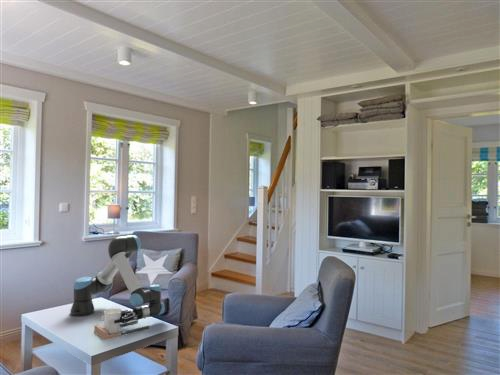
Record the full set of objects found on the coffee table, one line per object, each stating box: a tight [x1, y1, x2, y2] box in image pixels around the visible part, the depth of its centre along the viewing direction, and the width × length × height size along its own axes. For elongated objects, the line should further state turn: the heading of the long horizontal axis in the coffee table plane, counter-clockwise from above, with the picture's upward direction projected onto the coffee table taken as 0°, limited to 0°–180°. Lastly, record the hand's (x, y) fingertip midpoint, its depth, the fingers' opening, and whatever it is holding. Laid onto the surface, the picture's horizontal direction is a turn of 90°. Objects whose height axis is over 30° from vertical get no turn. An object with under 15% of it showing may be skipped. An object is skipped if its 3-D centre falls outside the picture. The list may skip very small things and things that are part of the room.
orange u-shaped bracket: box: [93, 324, 122, 341], centre depth 220 cm, size 16×9×4 cm, turn 43°
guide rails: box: [120, 320, 150, 336], centre depth 229 cm, size 16×17×2 cm
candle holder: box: [103, 307, 123, 335], centre depth 222 cm, size 10×10×12 cm
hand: (105, 320), depth 219 cm, fingers closed on candle holder, 9 cm apart
